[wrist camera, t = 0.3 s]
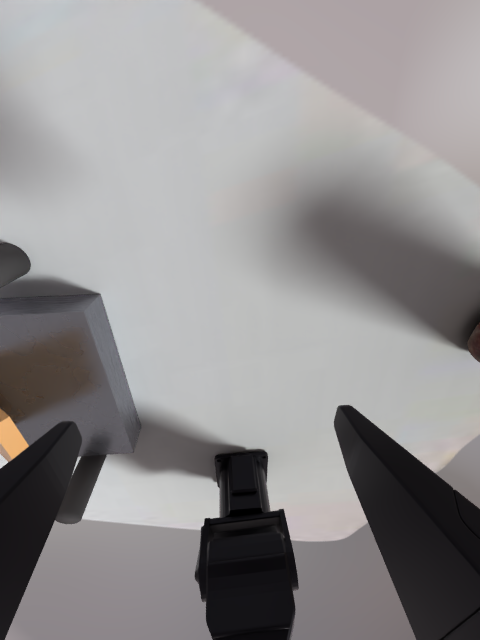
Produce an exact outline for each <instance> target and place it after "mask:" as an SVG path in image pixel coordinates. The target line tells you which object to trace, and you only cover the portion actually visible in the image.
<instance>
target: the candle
mask: <svg viewBox="0 0 480 640" xmlns="http://www.w3.org/2000/svg"><path fill="white" fill-rule="evenodd" d="M467 343H468V348H469V352H470V353H471V355H472V356H473V357H474V358H475V359H476V360H477V361H479V362H480V323H479V324H478V325H477V326H476V328H475V330H474V331H473V333H472V335H471V336H470V338H469V340H468V342H467Z"/></svg>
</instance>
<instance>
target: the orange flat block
mask: <svg viewBox="0 0 480 640" xmlns="http://www.w3.org/2000/svg"><path fill="white" fill-rule="evenodd" d="M27 447H29V445H28V444H27V442H26V441H25V439H24V438H23V436H22V435H21V433H20V432H19V430H18V429H17V427H16V426H15V424H14V423H13V421H12V420H11V418H10V417H9V416H8V415H7V414H6V413H5V412H4V411H3V410H2V409H1V408H0V454H1V455H2V456H3V457H4V458H5V459H6V460H7V461H8V462H10V461H11V460H12V459H13V458H15V457H16V456H17V455H19V454H20V453H21V452H22V451H24V450H25V449H26V448H27Z"/></svg>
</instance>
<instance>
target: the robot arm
mask: <svg viewBox="0 0 480 640" xmlns="http://www.w3.org/2000/svg"><path fill="white" fill-rule="evenodd" d="M334 428H335V431H336V435H337V438H338V441H339V445H340V448H341V451H342V455H343V458H344V461H345V465H346V468H347V471H348V474H349V476H350V479H351V481H352V484H353V486H354V489H355V491H356V494H357V496H358V498H359V501H360V503H361V506H362V508H363V511H364V513H365V515H366V518H367V520H368V523H369V525H370V527H371V530H372V532H373V535H374V537H375V540H376V542H377V545H378V547H379V550H380V552H381V554H382V556H383V559H384V562H385V564H386V566H387V569H388V571H389V574H390V576H391V578H392V581H393V583H394V586H395V588H396V591H397V593H398V596H399V598H400V600H401V603H402V605H403V608H404V610H405V613H406V615H407V617H408V620H409V623H410V625H411V627H412V630H413V632H414V635H415V637H416V640H480V509H479V508H478V507H477V506H475V505H474V504H473V503H471V502H470V501H469V500H468V499H466V498H465V497H464V496H462V495H461V494H460V493H459V492H458V491H456V490H453V488H452V487H451V486H450V485H449V484H448V483H446V482H445V481H444V480H443V479H441V478H440V477H439V476H438V475H437V474H435V473H434V472H433V471H432V470H430V469H429V468H428V467H427V466H425V465H424V464H423V463H422V462H420V461H419V460H418V459H417V458H415V457H414V456H413V455H412V454H410V453H409V452H408V451H407V450H405V449H404V448H403V447H402V446H401V445H399V444H398V443H397V442H396V441H394V440H393V439H392V438H391V437H389V436H388V435H387V434H386V433H384V432H383V431H382V430H381V429H379V428H378V427H377V426H376V425H374V424H373V423H372V422H371V421H370V420H368V419H367V418H366V417H365V416H363V415H362V414H361V413H360V412H358V411H357V410H356V409H355V408H353V407H352V406H350V405H340V406H338V408H337V411H336V415H335V419H334ZM81 445H82V436H81V433H80V431H79V429H78V427H77V424H76V423H75V422H74V421H62V422H60V423H58V424H57V425H55V426H54V427H53V428H52V429H50V430H49V431H48V432H46V433H45V434H44V435H43V436H41V437H40V438H39V439H38V440H36V441H35V442H34V443H33V444H31V445H30V446H29V447H27V448H26V449H25V450H24V451H22V452H21V453H20V454H19V455H17V456H16V457H15V458H13V459H12V460H11V461H10V462H8V463H7V464H6V465H5V466H3V467H2V468H1V469H0V640H5V637H6V635H7V632H8V630H9V627H10V625H11V623H12V621H13V618H14V616H15V613H16V611H17V609H18V606H19V604H20V602H21V599H22V597H23V595H24V592H25V590H26V587H27V585H28V583H29V580H30V578H31V576H32V573H33V571H34V568H35V566H36V564H37V561H38V559H39V556H40V554H41V552H42V549H43V547H44V545H45V542H46V540H47V538H48V535H49V533H50V530H51V528H52V526H53V523H54V521H55V519H56V516H57V514H58V511H59V509H60V507H61V504H62V502H63V500H64V497H65V495H66V492H67V489H68V486H69V483H70V480H71V477H72V474H73V470H74V467H75V464H76V461H77V458H78V454H79V451H80V448H81ZM267 465H268V454H267V452H253V453H240V454H227V455H217V456H216V457H215V466H216V475H217V484H218V487H219V488H220V518H213V519H210V518H205V522H204V526H203V527H201V542H200V550H199V555H198V560H197V565H196V570H195V580H196V581H197V582H198V584H199V587H200V592H201V599H202V602H206V622H207V626H208V628H209V631H210V633H211V636H212V639H213V640H291V637H292V632H293V627H294V618H295V603H294V597H293V591H294V590H298V588H299V587H298V578H297V570H296V564H295V558H294V553H293V548H292V544H291V539H290V535H289V531H288V526H287V522H286V518H285V513H284V509H279V511H270V505H269V499H268V492H267V485H266V482H267Z"/></svg>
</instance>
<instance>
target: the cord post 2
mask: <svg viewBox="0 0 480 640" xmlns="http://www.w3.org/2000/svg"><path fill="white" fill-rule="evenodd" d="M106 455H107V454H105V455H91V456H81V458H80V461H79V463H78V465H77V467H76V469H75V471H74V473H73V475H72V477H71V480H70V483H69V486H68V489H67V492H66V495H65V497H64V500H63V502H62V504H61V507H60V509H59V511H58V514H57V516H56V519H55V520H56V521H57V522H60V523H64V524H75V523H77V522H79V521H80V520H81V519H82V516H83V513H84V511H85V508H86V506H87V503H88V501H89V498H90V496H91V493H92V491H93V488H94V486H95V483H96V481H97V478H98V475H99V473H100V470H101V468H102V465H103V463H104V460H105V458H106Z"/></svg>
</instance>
